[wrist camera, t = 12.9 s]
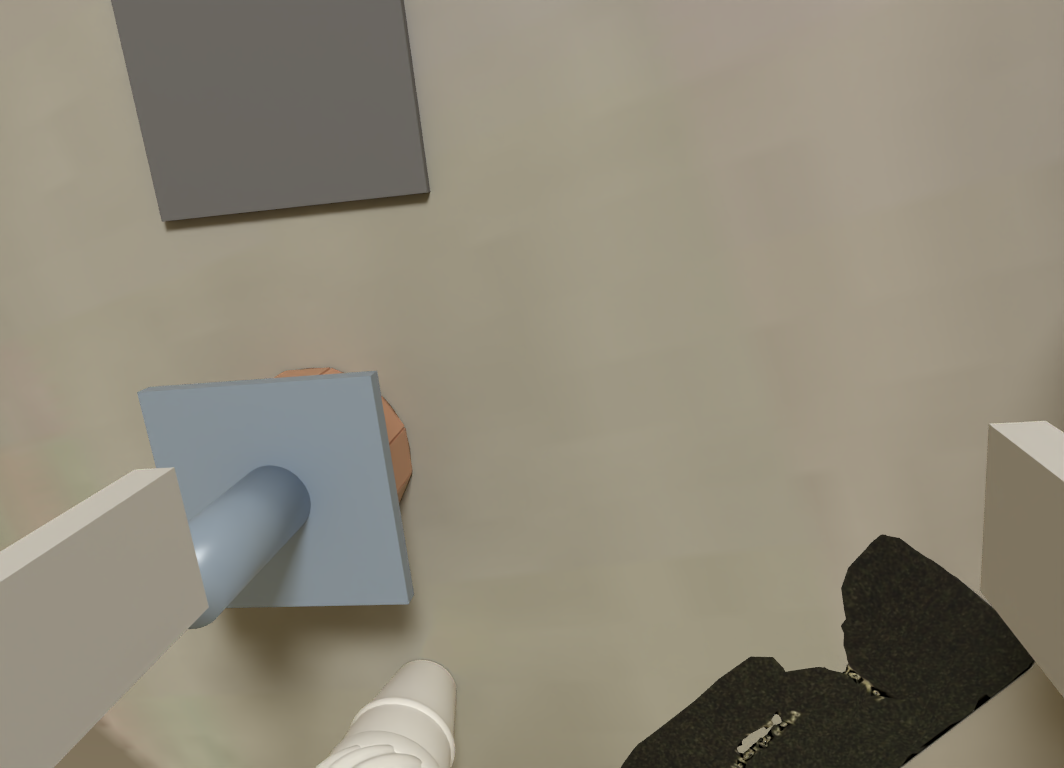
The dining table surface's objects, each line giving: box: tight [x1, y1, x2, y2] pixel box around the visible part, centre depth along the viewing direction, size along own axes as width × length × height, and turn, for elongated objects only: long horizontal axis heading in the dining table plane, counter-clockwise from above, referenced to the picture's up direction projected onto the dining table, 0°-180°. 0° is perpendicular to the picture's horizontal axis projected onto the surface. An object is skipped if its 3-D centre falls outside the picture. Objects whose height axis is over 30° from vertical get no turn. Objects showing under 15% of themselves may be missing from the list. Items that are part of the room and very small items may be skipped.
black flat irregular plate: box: [621, 535, 1035, 768], centre depth 49 cm, size 25×1×15 cm
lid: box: [137, 371, 414, 629], centre depth 38 cm, size 13×13×10 cm
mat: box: [111, 0, 430, 221], centre depth 42 cm, size 16×16×1 cm
